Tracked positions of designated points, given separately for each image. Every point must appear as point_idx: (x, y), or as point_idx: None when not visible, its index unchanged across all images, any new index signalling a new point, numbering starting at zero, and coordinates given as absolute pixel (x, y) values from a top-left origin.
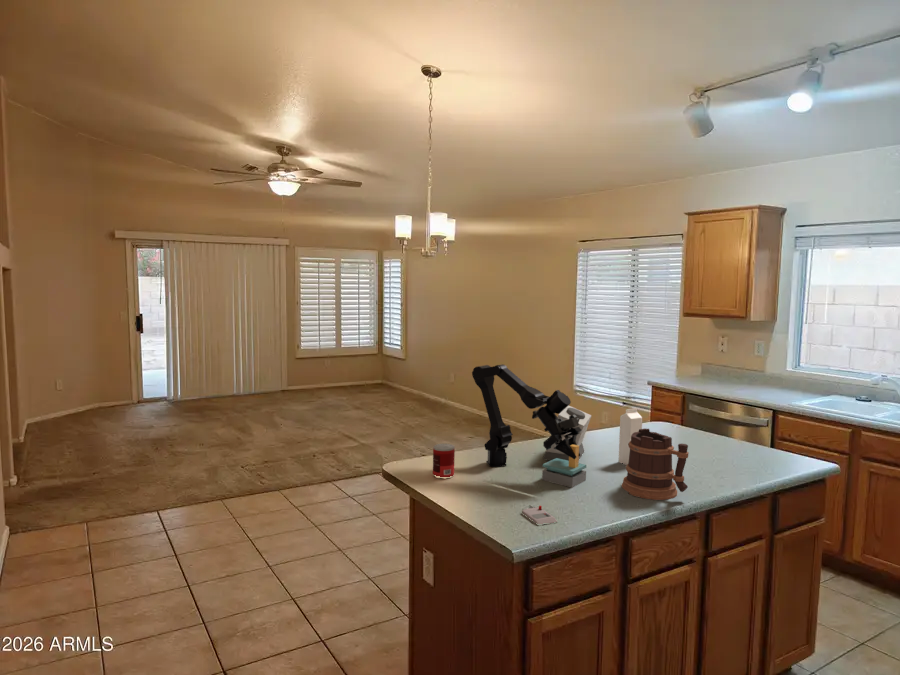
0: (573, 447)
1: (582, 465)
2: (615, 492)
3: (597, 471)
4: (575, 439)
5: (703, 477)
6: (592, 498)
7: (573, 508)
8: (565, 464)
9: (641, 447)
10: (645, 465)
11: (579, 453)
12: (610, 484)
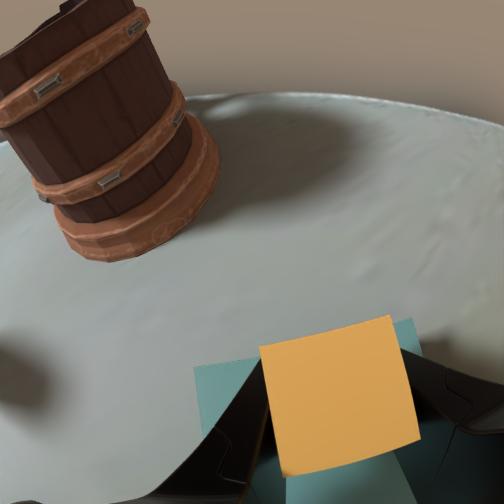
0: (399, 359)
1: (232, 378)
2: (241, 215)
3: (63, 417)
4: (137, 502)
5: (3, 190)
6: (380, 221)
7: (489, 203)
8: (326, 474)
9: (133, 12)
10: (162, 66)
11: (261, 366)
12: (166, 285)
